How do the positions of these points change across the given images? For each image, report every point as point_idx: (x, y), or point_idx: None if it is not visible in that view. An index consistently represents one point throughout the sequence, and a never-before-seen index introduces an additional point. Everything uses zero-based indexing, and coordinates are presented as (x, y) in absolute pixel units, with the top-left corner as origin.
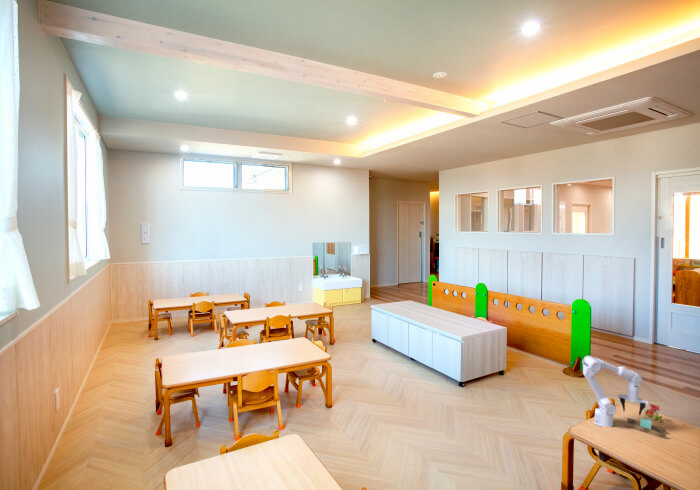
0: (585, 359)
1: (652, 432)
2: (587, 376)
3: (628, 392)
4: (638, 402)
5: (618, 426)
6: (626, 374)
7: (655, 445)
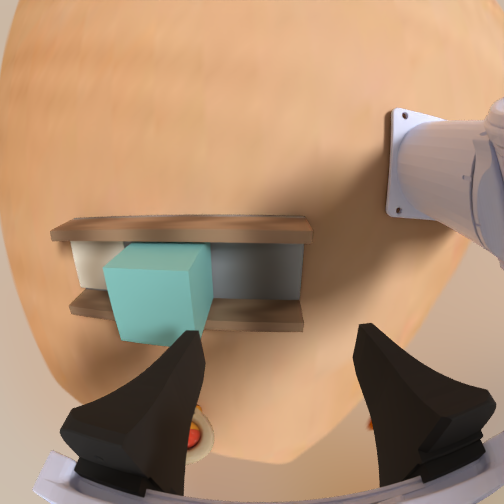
0: None
1: (122, 223)
2: None
3: None
4: (181, 500)
5: (356, 205)
6: None
7: (112, 90)
